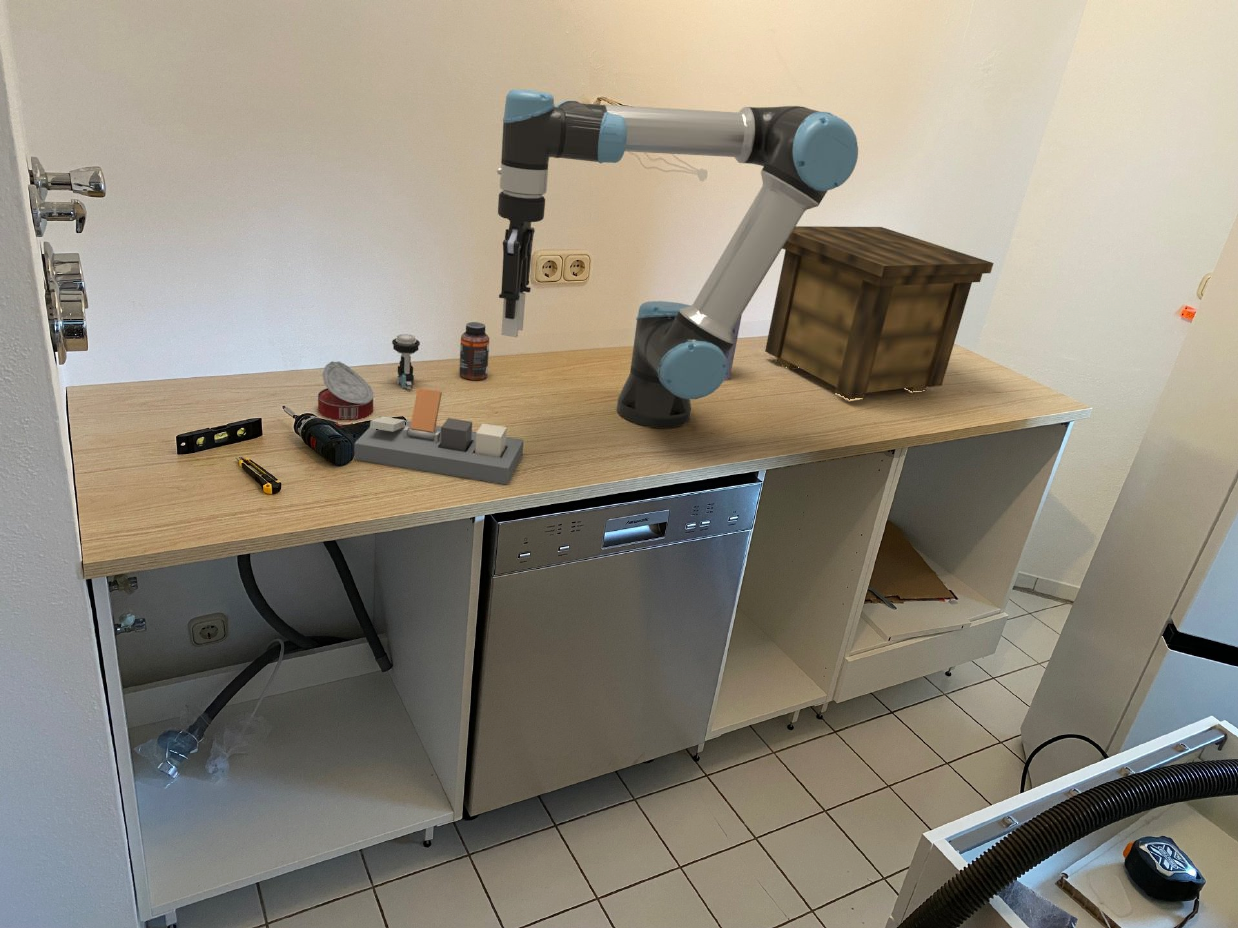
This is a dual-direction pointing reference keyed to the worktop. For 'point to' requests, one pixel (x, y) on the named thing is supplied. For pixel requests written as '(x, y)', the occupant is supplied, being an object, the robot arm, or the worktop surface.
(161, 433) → the worktop surface
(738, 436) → the worktop surface
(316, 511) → the worktop surface
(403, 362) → the push button
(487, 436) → the ivory button
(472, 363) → the supplement bottle
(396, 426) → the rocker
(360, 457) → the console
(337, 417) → the canned food
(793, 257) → the crate
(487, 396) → the worktop surface
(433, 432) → the paddle lever
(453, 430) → the dark gray button
